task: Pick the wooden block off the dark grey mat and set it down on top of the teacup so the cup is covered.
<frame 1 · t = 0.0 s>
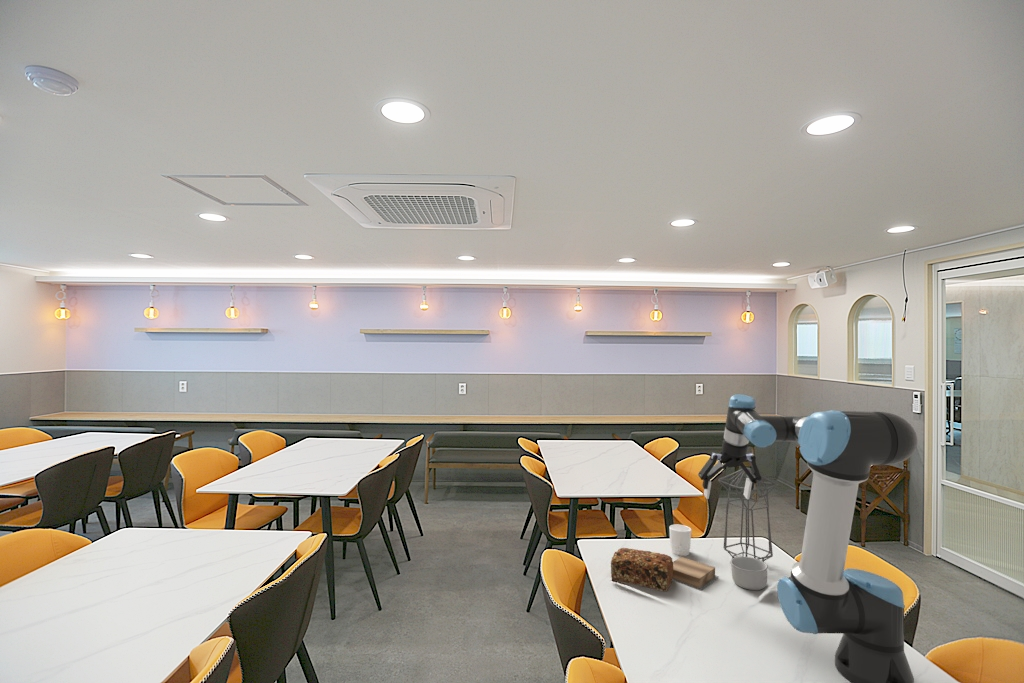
hand: (726, 496, 166), 28 cm above the table, tool tilted 20°, fingers open, 13 cm apart
white cup: (680, 555, 186), on the table
bread: (641, 583, 163), on the table
mat: (689, 579, 165), on the table
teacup: (747, 585, 162), on the table
wooden block: (689, 576, 165), point 1 cm above the table, touching mat
geometric lantern: (747, 564, 178), on the table
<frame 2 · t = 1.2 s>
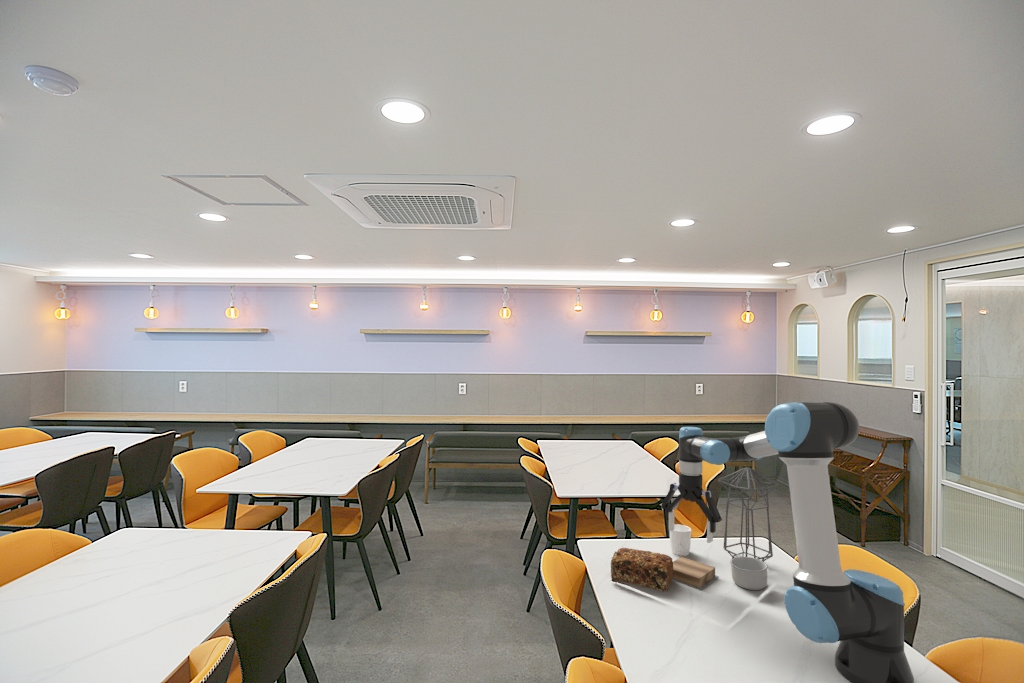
hand: (690, 536, 166), 14 cm above the table, tool pointing down, fingers open, 13 cm apart
nothing on the table moved.
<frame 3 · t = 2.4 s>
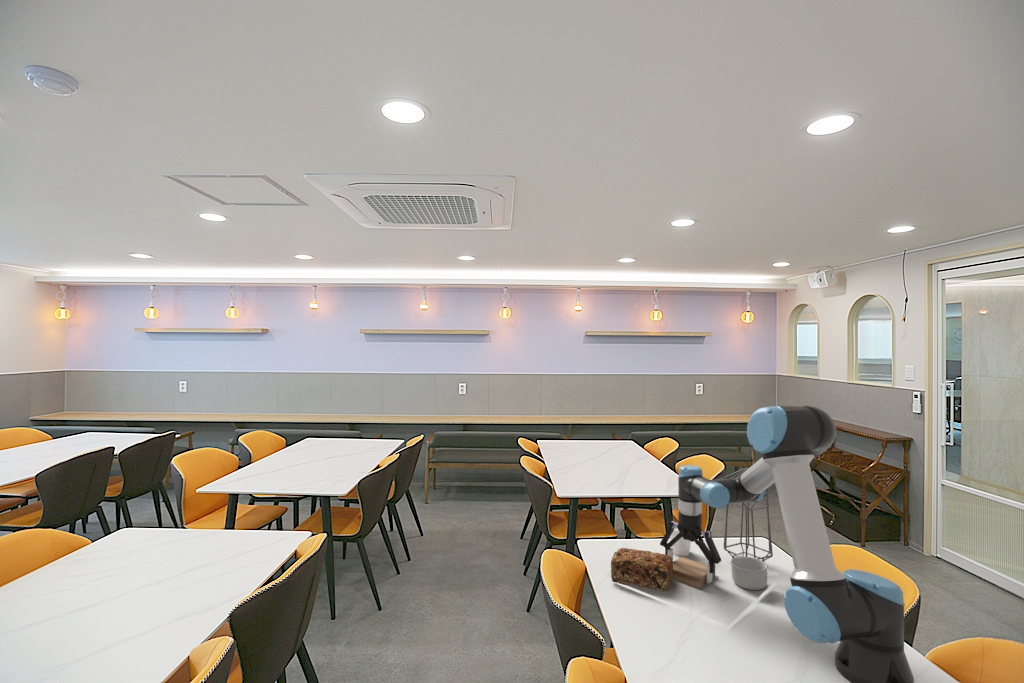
hand: (689, 575, 166), 1 cm above the table, tool pointing down, fingers open, 13 cm apart
nothing on the table moved.
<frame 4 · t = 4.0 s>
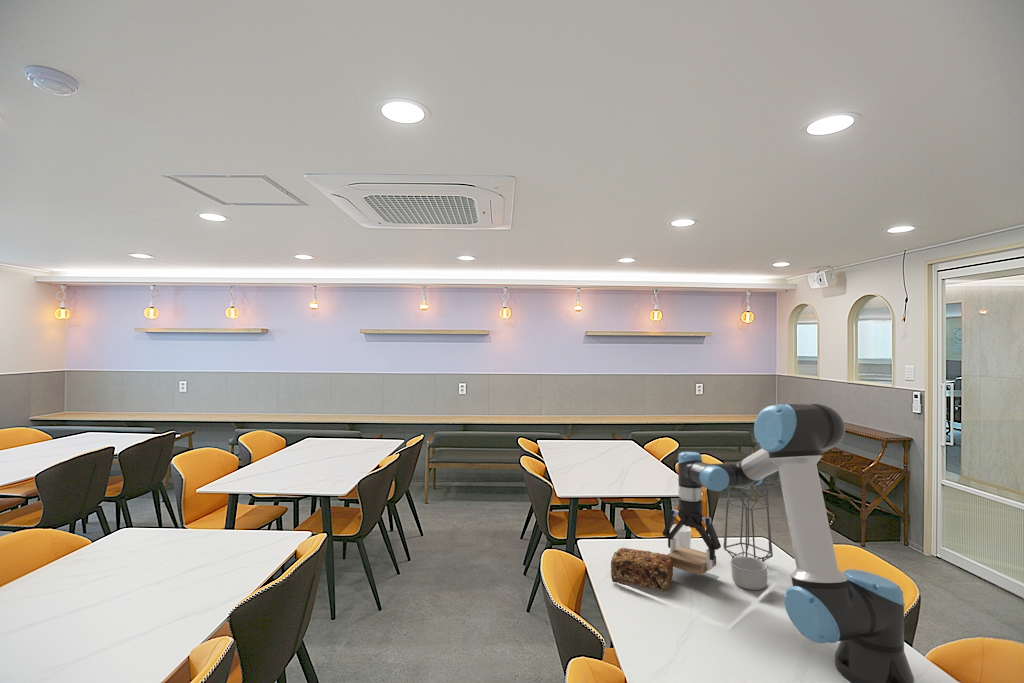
hand: (690, 563, 165), 5 cm above the table, tool pointing down, fingers closed on wooden block, 12 cm apart
wooden block: (691, 564, 165), point 5 cm above the table, touching gripper
everything else where it was.
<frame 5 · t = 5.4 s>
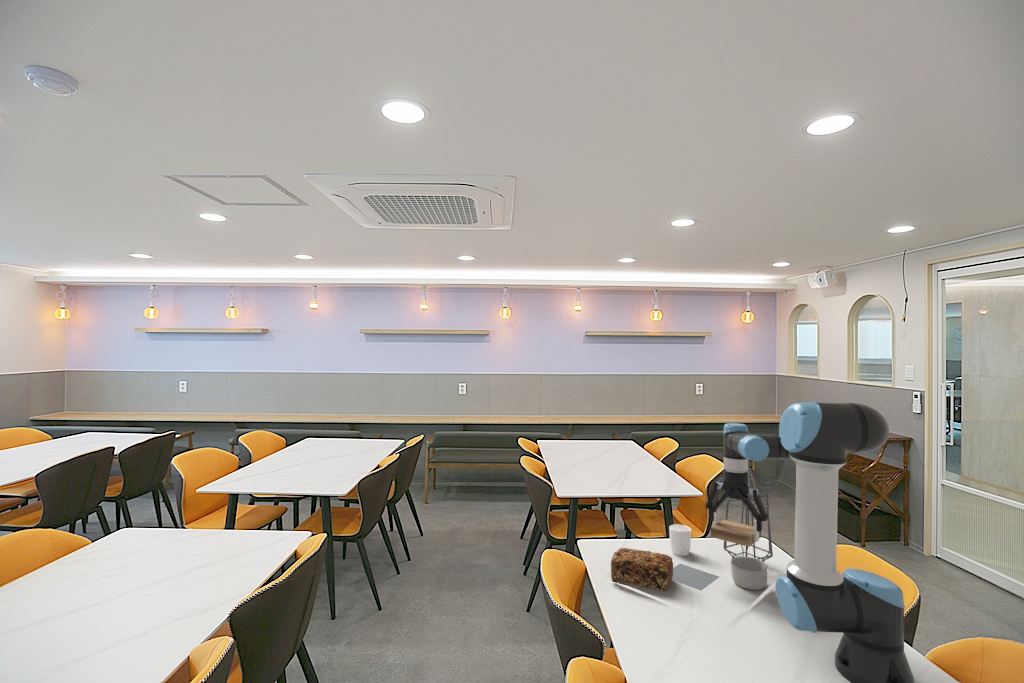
hand: (736, 535, 162), 16 cm above the table, tool pointing down, fingers closed on wooden block, 12 cm apart
wooden block: (735, 537, 162), point 16 cm above the table, touching gripper
everything else where it was.
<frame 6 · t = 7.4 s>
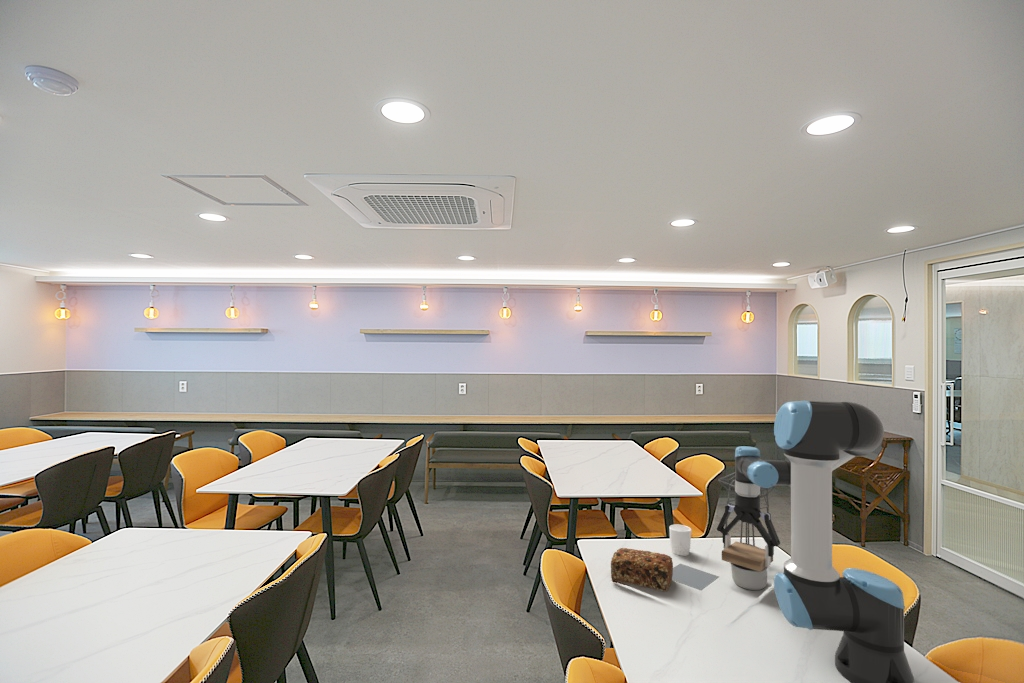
hand: (747, 559, 162), 8 cm above the table, tool pointing down, fingers closed on wooden block, 12 cm apart
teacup: (747, 585, 162), on the table, touching wooden block
wooden block: (747, 560, 162), point 8 cm above the table, touching gripper, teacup
everything else where it was.
when the fingers open (8 cm above the table, at t = 7.8 s): wooden block stays where it is, resting on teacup.
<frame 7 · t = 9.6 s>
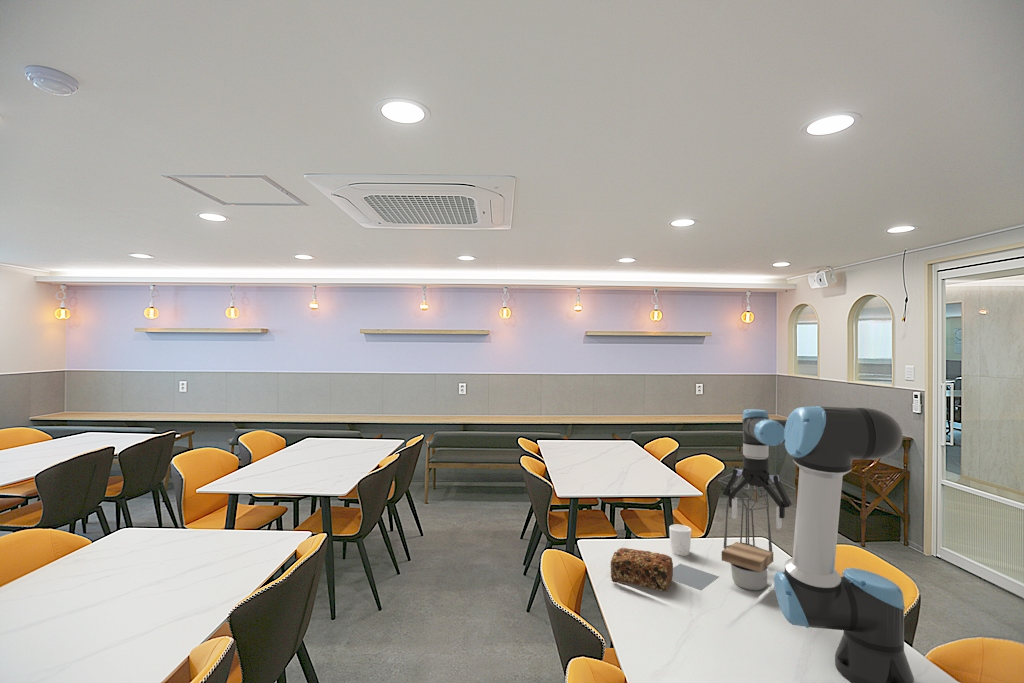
hand: (756, 522, 159), 21 cm above the table, tool pointing down, fingers open, 13 cm apart
wooden block: (747, 560, 162), point 8 cm above the table, touching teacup
everything else where it was.
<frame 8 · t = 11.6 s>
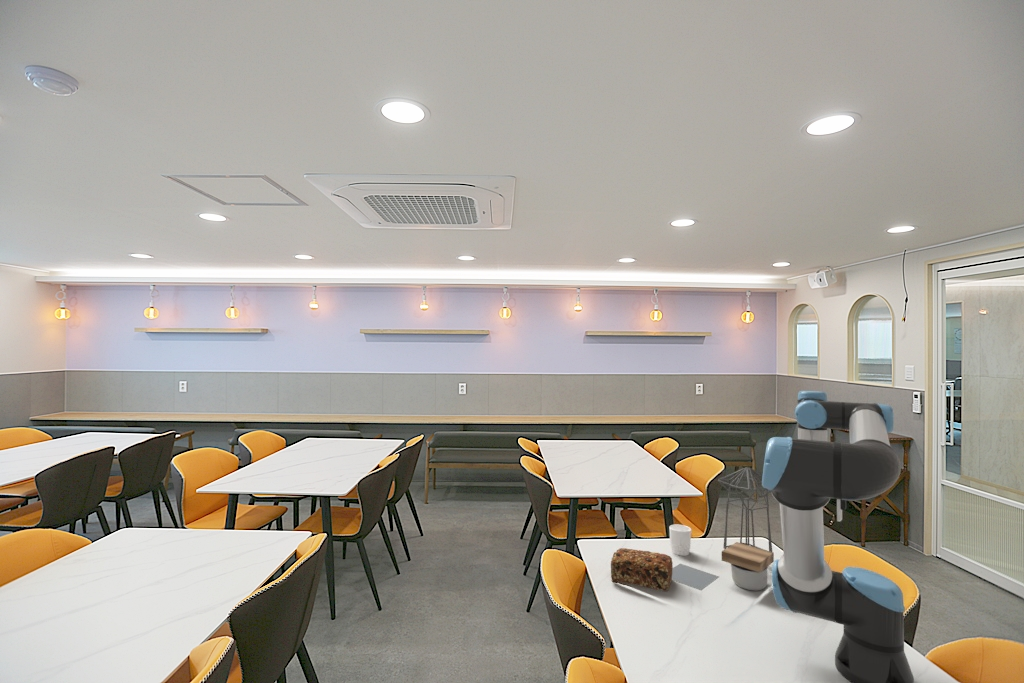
hand: (812, 514, 145), 29 cm above the table, tool pointing down, fingers open, 13 cm apart
nothing on the table moved.
at the end: wooden block inside the target area on the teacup (0.1 cm from its centre), point 8.2 cm above the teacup's base; wooden block tilted 0°; the gripper is holding nothing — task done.
